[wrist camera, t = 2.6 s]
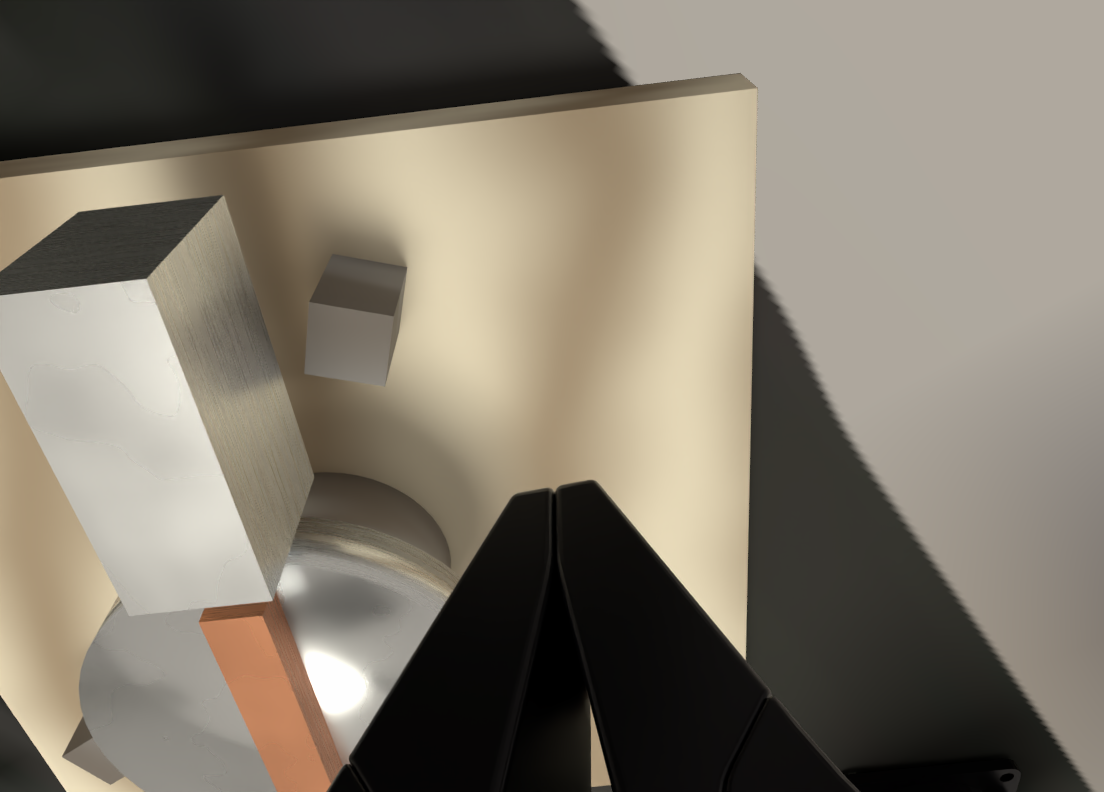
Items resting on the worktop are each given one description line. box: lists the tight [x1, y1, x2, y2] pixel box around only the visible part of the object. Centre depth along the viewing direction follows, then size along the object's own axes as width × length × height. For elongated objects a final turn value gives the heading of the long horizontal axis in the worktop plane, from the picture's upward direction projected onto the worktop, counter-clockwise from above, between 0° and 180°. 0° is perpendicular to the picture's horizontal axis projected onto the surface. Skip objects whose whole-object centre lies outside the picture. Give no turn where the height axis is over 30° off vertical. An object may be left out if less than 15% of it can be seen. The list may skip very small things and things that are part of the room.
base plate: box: [0, 73, 758, 792], centre depth 22 cm, size 22×22×5 cm
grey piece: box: [0, 195, 461, 792], centre depth 17 cm, size 16×9×4 cm, turn 6°
